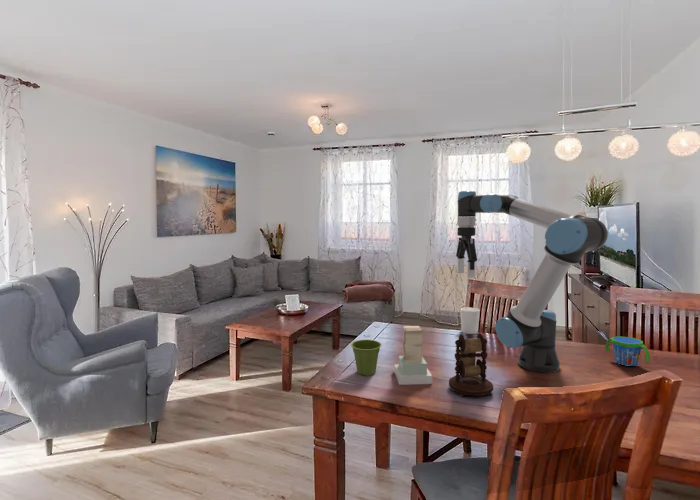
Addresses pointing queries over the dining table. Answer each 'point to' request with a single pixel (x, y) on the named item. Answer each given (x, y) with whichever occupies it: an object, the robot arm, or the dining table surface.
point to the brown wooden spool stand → (471, 367)
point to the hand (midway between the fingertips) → (465, 275)
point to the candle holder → (469, 320)
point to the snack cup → (627, 350)
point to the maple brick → (412, 344)
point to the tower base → (412, 377)
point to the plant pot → (366, 355)
